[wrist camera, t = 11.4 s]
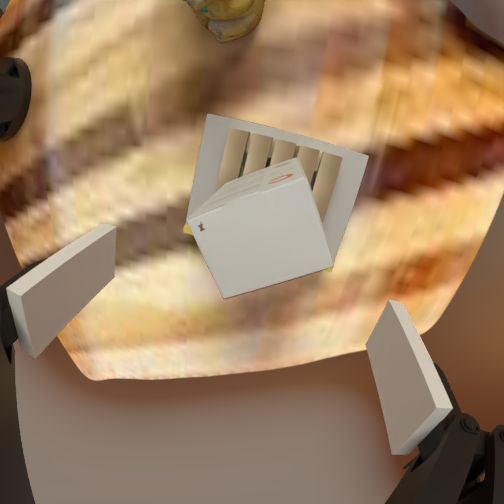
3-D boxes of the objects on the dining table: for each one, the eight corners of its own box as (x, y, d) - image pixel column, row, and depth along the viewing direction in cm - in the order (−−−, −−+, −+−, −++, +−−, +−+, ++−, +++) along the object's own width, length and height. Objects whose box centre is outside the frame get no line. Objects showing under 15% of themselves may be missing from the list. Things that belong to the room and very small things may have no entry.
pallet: (209, 229, 36) (204, 236, 34) (232, 127, 31) (227, 127, 29) (309, 255, 36) (310, 264, 33) (340, 156, 31) (344, 158, 29)
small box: (246, 238, 33) (221, 302, 21) (223, 183, 31) (181, 218, 19) (319, 214, 31) (336, 268, 19) (298, 155, 29) (305, 173, 17)
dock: (192, 223, 39) (183, 232, 36) (214, 114, 34) (206, 113, 30) (328, 259, 39) (331, 271, 36) (362, 154, 33) (370, 156, 30)
